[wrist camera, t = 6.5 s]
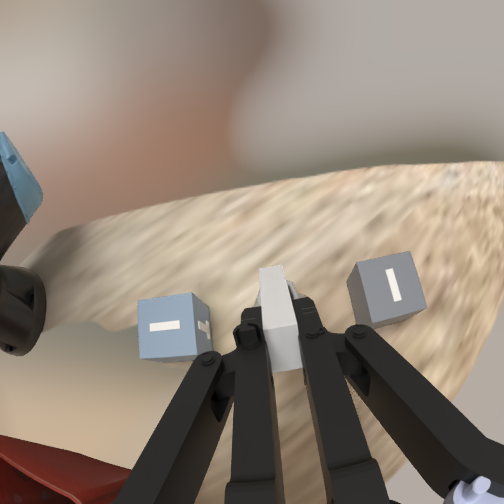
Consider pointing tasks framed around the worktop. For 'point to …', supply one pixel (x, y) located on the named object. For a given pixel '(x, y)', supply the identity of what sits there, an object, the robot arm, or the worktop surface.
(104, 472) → the plant pot
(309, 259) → the worktop surface
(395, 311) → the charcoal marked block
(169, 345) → the slate-blue marked block
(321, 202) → the worktop surface
